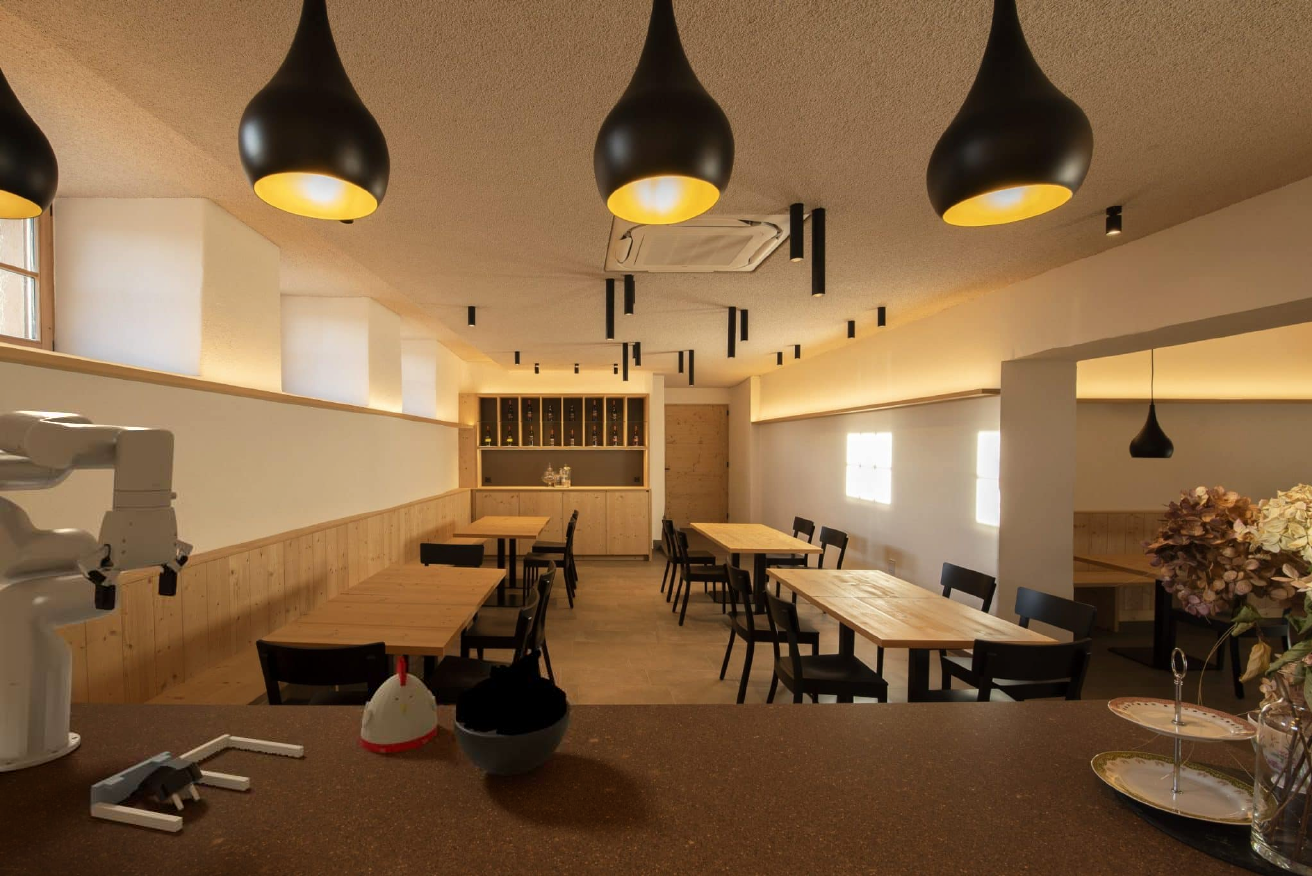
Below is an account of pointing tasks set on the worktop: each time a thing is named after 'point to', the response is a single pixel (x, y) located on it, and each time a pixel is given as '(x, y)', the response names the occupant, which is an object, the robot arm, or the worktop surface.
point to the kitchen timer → (399, 714)
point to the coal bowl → (511, 719)
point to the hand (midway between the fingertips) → (137, 602)
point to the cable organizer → (129, 779)
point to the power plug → (172, 781)
